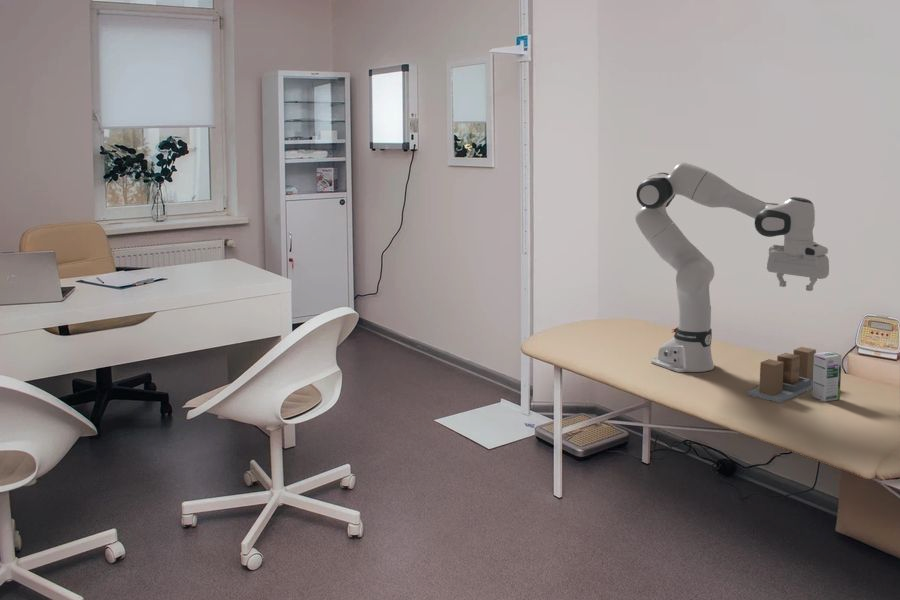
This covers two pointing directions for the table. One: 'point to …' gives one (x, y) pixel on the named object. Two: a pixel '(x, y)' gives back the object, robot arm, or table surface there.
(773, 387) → the grey base with blocks
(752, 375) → the table surface
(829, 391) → the syrup box
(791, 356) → the block
